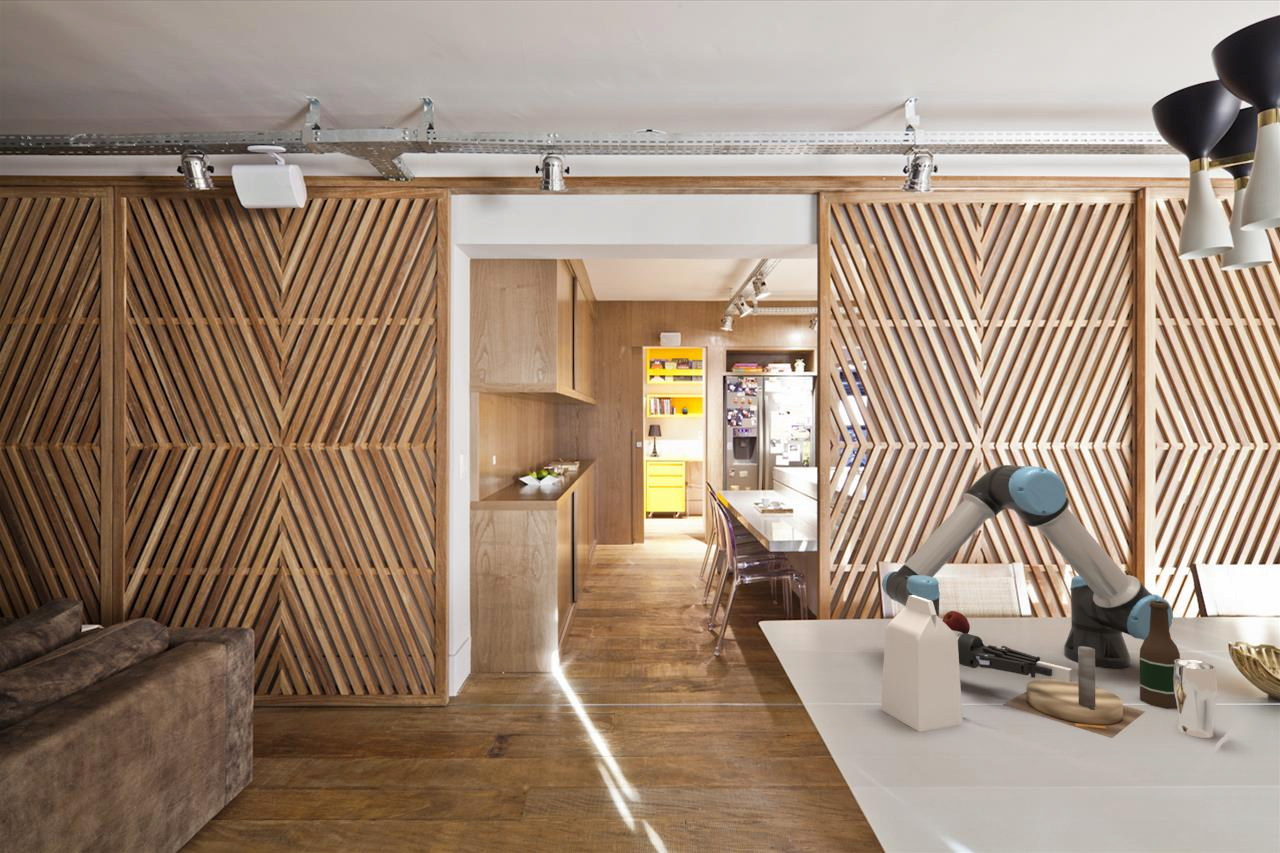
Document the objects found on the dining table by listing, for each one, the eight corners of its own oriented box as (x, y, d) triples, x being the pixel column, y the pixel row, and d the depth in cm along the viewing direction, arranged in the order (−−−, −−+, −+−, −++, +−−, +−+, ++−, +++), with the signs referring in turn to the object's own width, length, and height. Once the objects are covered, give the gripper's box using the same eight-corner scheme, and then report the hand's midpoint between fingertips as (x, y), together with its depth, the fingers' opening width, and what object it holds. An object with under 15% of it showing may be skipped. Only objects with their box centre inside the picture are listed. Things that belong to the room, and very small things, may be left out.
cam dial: (1014, 689, 159) (1013, 626, 159) (1097, 694, 156) (1097, 630, 156) (1046, 720, 141) (1045, 649, 141) (1140, 727, 138) (1140, 654, 138)
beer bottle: (1173, 703, 154) (1172, 599, 154) (1188, 716, 147) (1187, 607, 147) (1133, 699, 157) (1132, 596, 157) (1146, 711, 149) (1145, 604, 150)
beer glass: (1225, 746, 132) (1225, 670, 133) (1186, 743, 134) (1185, 668, 134) (1203, 731, 139) (1203, 659, 140) (1166, 728, 141) (1165, 657, 141)
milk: (881, 709, 150) (880, 593, 151) (922, 703, 154) (922, 590, 154) (918, 731, 139) (918, 606, 139) (962, 724, 142) (962, 602, 143)
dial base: (1041, 688, 163) (1041, 682, 163) (1145, 716, 147) (1145, 710, 147) (1002, 709, 150) (1002, 703, 150) (1112, 743, 134) (1112, 736, 134)
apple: (938, 633, 209) (938, 607, 209) (965, 634, 208) (964, 608, 208) (946, 640, 202) (946, 613, 202) (973, 641, 201) (973, 615, 201)
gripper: (973, 658, 166) (1081, 686, 147) (948, 669, 158) (1059, 700, 139) (973, 628, 166) (1081, 652, 148) (948, 638, 158) (1058, 664, 139)
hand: (1070, 675), depth 143 cm, fingers closed
